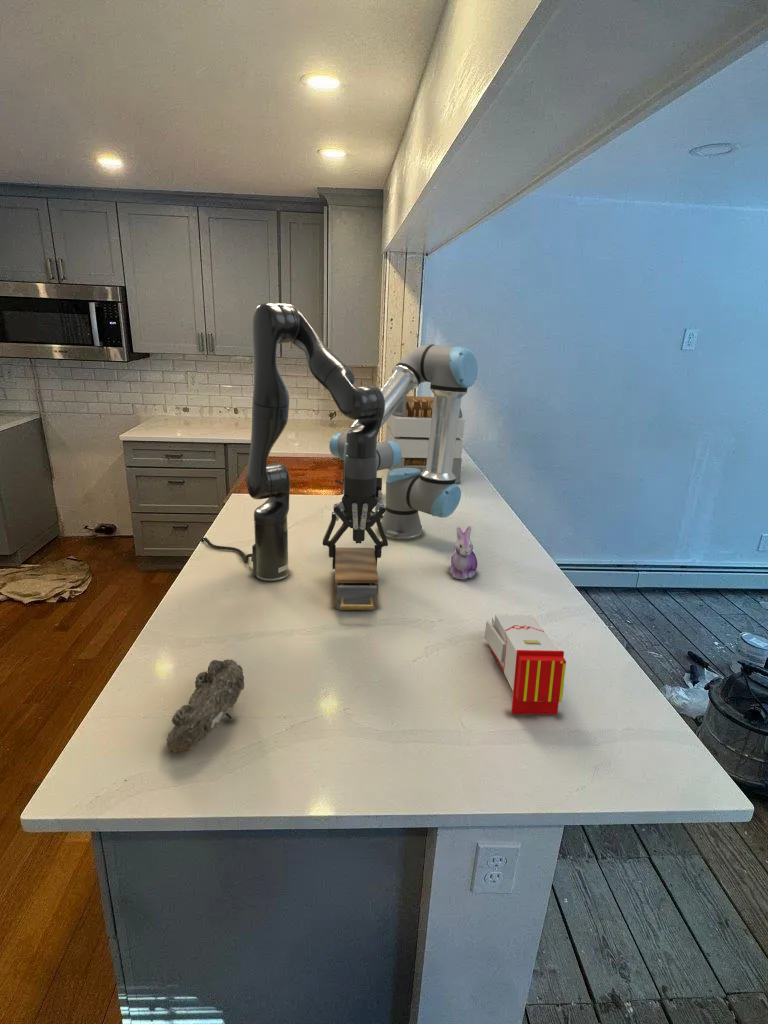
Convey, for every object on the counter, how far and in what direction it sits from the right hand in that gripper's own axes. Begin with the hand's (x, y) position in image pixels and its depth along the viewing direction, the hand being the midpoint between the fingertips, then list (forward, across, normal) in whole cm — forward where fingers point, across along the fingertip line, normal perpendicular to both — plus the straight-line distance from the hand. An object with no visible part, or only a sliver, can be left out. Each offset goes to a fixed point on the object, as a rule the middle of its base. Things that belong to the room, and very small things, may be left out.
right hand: (354, 567), depth 165 cm
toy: (+4, +35, -46) cm, 58 cm away
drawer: (+3, 0, -13) cm, 13 cm away
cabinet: (+4, 0, -7) cm, 8 cm away
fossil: (+4, -28, -59) cm, 66 cm away
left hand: (-17, 0, -22) cm, 29 cm away
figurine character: (+4, +10, +73) cm, 74 cm away
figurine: (+4, +33, +3) cm, 33 cm away
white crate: (+4, +34, +113) cm, 119 cm away
